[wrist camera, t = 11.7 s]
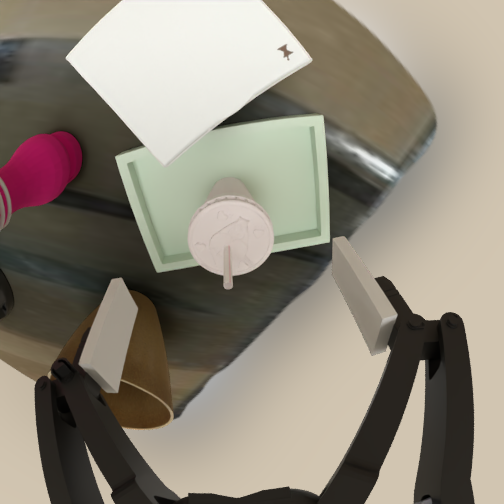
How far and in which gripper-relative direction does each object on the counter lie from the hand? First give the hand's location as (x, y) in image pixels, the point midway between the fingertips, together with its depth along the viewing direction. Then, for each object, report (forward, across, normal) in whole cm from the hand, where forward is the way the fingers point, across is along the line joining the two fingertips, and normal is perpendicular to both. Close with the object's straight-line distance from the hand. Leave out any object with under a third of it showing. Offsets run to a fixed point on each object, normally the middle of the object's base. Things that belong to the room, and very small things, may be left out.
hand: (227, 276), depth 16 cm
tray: (+15, 0, 0) cm, 15 cm away
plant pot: (+15, -16, -14) cm, 26 cm away
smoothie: (+14, 0, 0) cm, 14 cm away
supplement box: (+15, 0, +13) cm, 20 cm away
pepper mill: (+15, -18, +9) cm, 25 cm away
